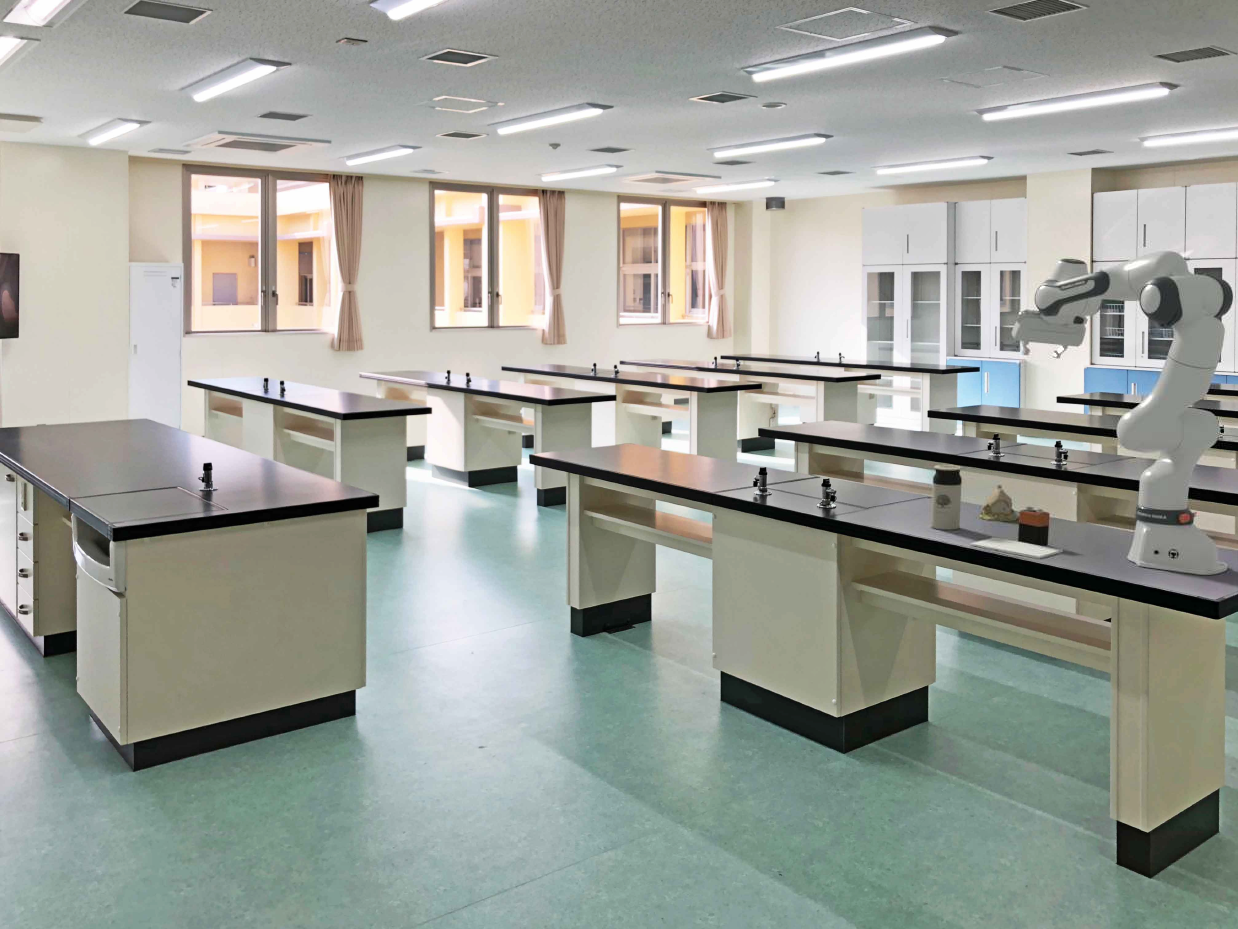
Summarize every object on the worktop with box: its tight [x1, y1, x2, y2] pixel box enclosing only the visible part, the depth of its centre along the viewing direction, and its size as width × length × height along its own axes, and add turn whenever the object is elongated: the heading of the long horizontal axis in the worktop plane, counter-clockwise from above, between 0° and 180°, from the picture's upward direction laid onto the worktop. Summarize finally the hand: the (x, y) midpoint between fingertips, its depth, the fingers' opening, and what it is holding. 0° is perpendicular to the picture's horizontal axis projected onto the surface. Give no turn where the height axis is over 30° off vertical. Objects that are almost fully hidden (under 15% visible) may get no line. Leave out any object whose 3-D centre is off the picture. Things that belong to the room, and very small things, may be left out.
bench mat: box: [969, 536, 1064, 560], centre depth 293 cm, size 20×12×1 cm, turn 40°
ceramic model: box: [978, 484, 1019, 522], centre depth 336 cm, size 14×11×10 cm
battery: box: [1017, 506, 1051, 547], centre depth 298 cm, size 4×7×10 cm, turn 33°
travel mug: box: [930, 464, 963, 531], centre depth 319 cm, size 8×8×18 cm
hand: (1040, 355), depth 322 cm, fingers open, 8 cm apart
